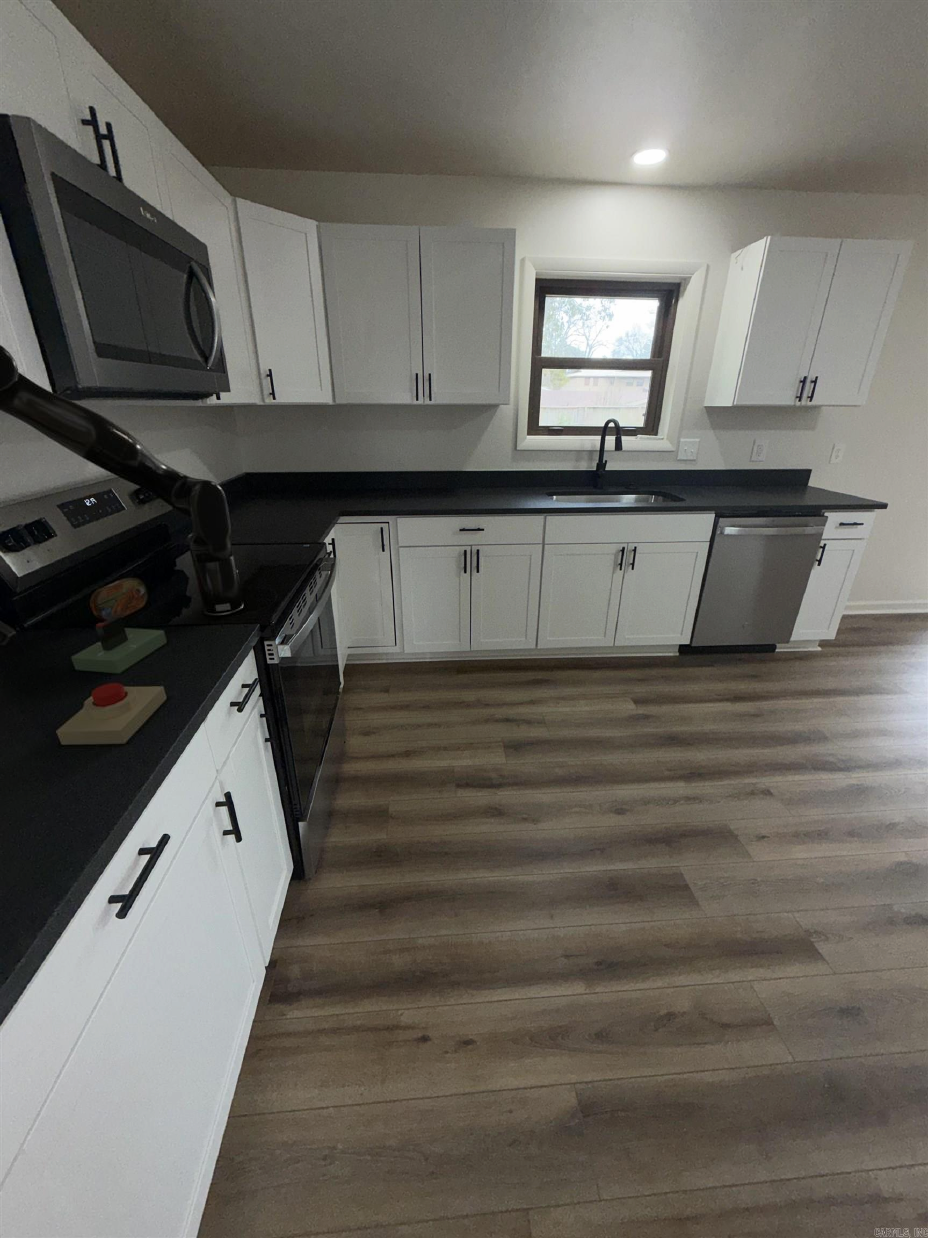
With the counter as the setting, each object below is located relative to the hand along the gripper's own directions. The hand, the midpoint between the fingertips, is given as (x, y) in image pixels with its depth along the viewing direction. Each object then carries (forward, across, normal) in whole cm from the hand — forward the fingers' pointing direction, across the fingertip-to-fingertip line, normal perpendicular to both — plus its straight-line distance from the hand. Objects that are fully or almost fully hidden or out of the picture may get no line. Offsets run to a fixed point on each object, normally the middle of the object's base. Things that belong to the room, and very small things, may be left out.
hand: (11, 639), depth 78 cm
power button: (+17, 0, 0) cm, 17 cm away
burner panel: (+11, +24, +12) cm, 29 cm away
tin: (+2, +47, +20) cm, 52 cm away
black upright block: (+9, +23, +9) cm, 26 cm away
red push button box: (+20, 0, +3) cm, 20 cm away
